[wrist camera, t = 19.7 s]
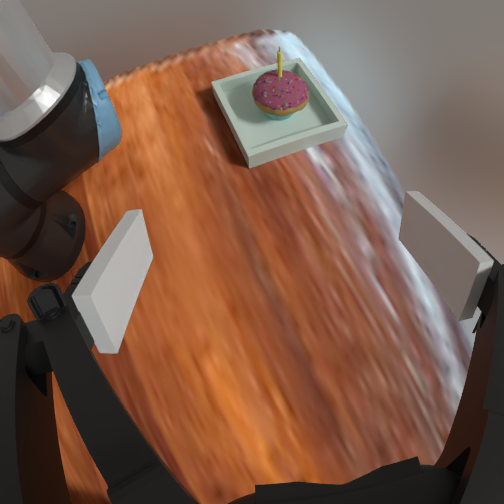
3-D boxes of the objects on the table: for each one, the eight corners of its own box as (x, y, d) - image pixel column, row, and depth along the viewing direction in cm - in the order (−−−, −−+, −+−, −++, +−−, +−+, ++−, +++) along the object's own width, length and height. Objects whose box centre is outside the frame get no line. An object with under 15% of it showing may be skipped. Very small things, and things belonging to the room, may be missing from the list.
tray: (213, 95, 50) (211, 82, 47) (298, 71, 51) (299, 57, 48) (249, 168, 46) (248, 156, 43) (343, 136, 47) (347, 124, 44)
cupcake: (248, 94, 49) (244, 41, 37) (297, 87, 49) (304, 35, 37) (259, 134, 47) (258, 81, 35) (312, 126, 47) (324, 74, 35)
